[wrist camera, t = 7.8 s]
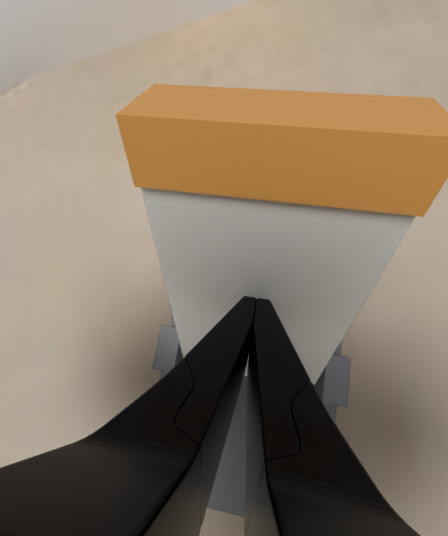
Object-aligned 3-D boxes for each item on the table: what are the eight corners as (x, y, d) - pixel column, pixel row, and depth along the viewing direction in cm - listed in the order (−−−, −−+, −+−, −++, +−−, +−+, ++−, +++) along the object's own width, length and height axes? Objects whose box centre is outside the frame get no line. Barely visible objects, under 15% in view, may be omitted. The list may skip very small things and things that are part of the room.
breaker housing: (316, 511, 15) (339, 575, 11) (152, 469, 16) (118, 514, 12) (333, 317, 17) (356, 312, 13) (186, 294, 18) (167, 283, 14)
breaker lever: (308, 399, 13) (471, 138, 4) (185, 375, 14) (115, 114, 5) (308, 359, 14) (433, 98, 6) (195, 339, 15) (154, 84, 7)
